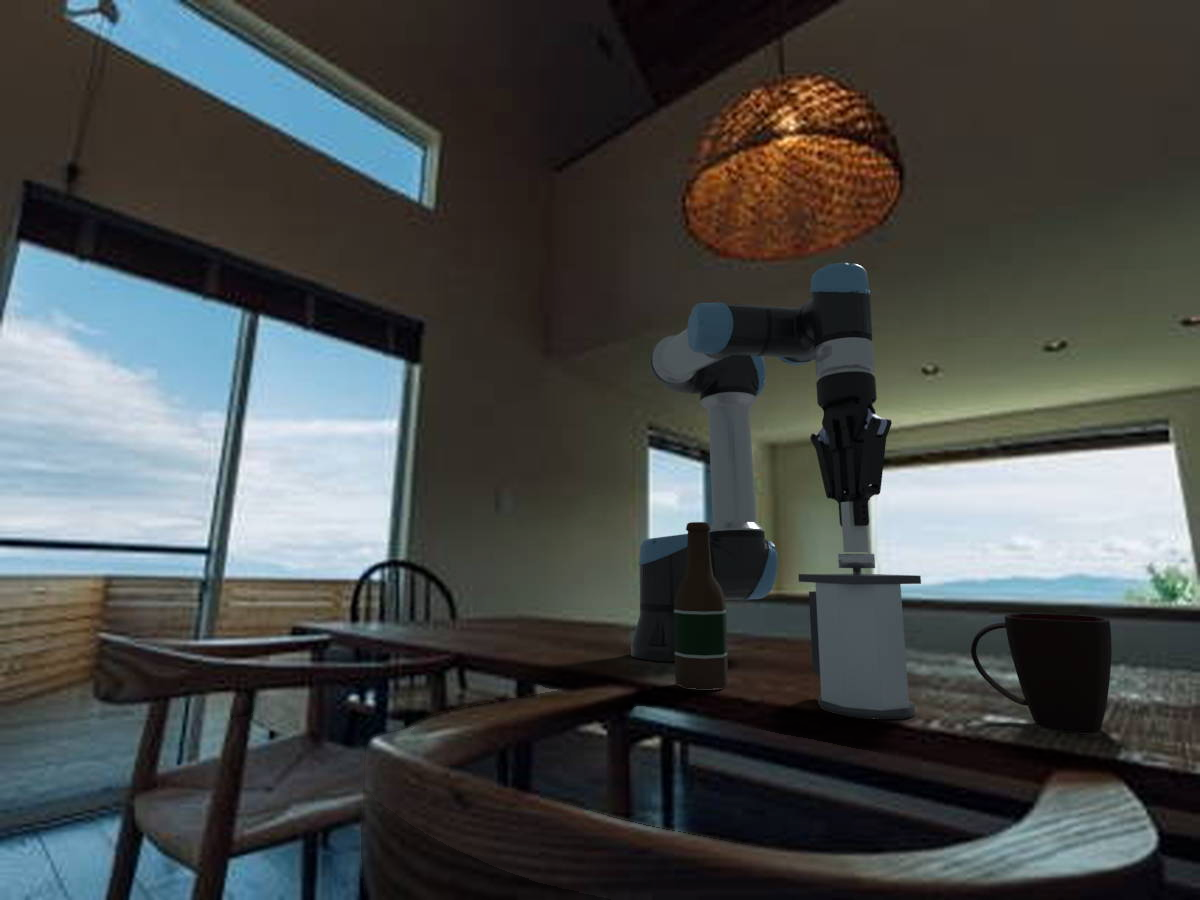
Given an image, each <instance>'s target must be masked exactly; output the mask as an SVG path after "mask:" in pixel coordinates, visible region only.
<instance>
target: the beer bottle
mask: <svg viewBox="0 0 1200 900" xmlns="http://www.w3.org/2000/svg"><path fill="white" fill-rule="evenodd" d="M710 527H711V525H710V523H708V522H705V521H703V522H702V521H692V522H688V523H686V527H685V531H687V534H688V542H687V566H686V572H685V577H684V578H683V580H682V581H681V583H680V585H679V586H678V589H677V592H676V595H675V602H674V638H675V662H674V675H675V684H678V685H681V686H683V687H685V688H696V689H713V688H723V687H725V686H726V685H728V679H729V678H728V677H729V675H728V674H729V673H728V672H729V671H728V668H729V667H728V635H727V608H726V600H725V597H724V594H723V591H722V589H721V586H720V585H719V583H718V582H717V580H716V579H715V577H714V575H713V570H712V565H711V553H710V542H709V531H710V530H711V529H710ZM726 687H727V686H726ZM726 687H725V688H726Z"/></svg>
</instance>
